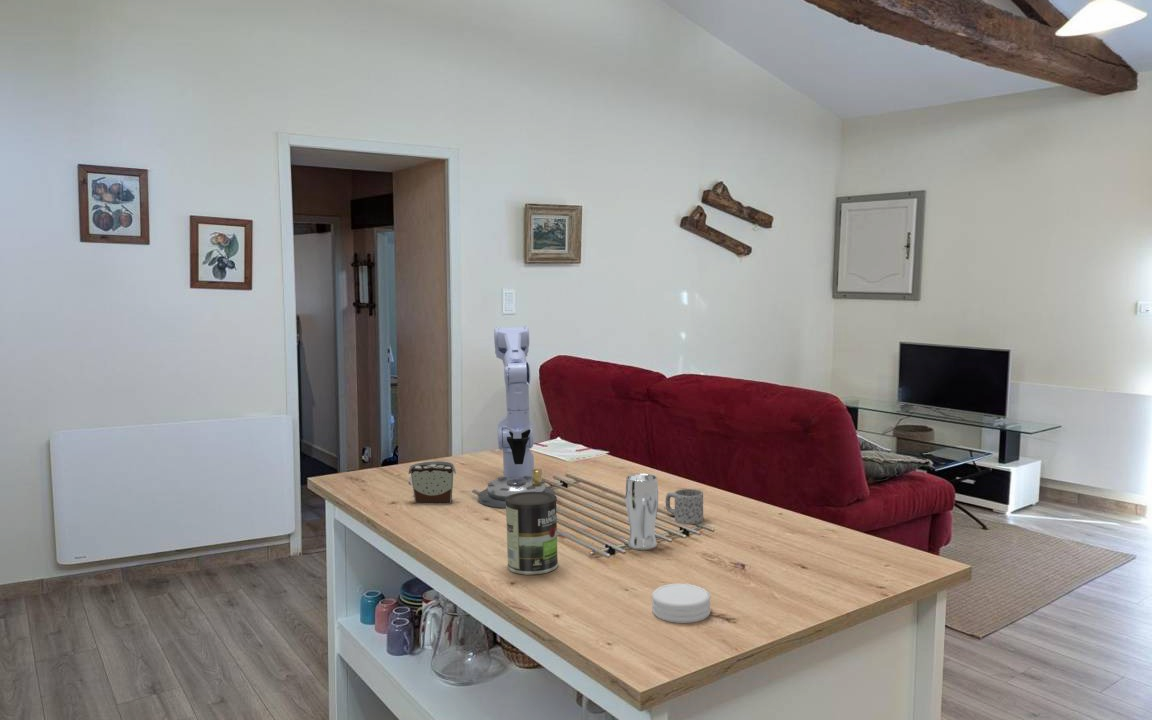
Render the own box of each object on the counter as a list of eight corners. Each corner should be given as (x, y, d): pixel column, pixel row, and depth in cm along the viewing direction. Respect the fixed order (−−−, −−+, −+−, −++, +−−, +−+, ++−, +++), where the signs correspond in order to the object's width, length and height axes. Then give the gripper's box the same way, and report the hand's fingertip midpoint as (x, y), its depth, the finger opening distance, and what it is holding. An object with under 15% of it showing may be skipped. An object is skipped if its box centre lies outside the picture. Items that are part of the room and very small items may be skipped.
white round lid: (645, 620, 142) (644, 600, 141) (660, 598, 151) (660, 579, 151) (703, 628, 138) (703, 607, 138) (715, 605, 147) (715, 586, 147)
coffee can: (568, 562, 170) (566, 494, 169) (539, 578, 161) (537, 507, 160) (526, 554, 176) (524, 488, 174) (496, 569, 167) (494, 500, 165)
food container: (462, 498, 221) (460, 460, 220) (456, 504, 215) (455, 466, 214) (416, 497, 222) (415, 460, 221) (409, 504, 216) (408, 466, 215)
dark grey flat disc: (500, 485, 233) (500, 481, 233) (566, 491, 225) (566, 486, 225) (464, 504, 214) (464, 499, 214) (535, 511, 207) (534, 506, 207)
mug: (708, 519, 198) (708, 492, 197) (692, 526, 193) (692, 497, 192) (674, 512, 204) (674, 485, 204) (657, 518, 199) (657, 490, 199)
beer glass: (637, 553, 175) (636, 482, 173) (620, 544, 181) (619, 476, 179) (665, 547, 178) (664, 478, 176) (647, 538, 184) (646, 471, 183)
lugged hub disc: (504, 483, 229) (503, 460, 229) (554, 488, 224) (553, 464, 223) (477, 497, 216) (476, 473, 215) (530, 502, 210) (529, 477, 209)
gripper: (504, 404, 223) (506, 454, 225) (500, 414, 209) (502, 467, 210) (531, 404, 223) (532, 454, 225) (528, 413, 209) (530, 466, 211)
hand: (519, 460), depth 218 cm, fingers open, 7 cm apart
